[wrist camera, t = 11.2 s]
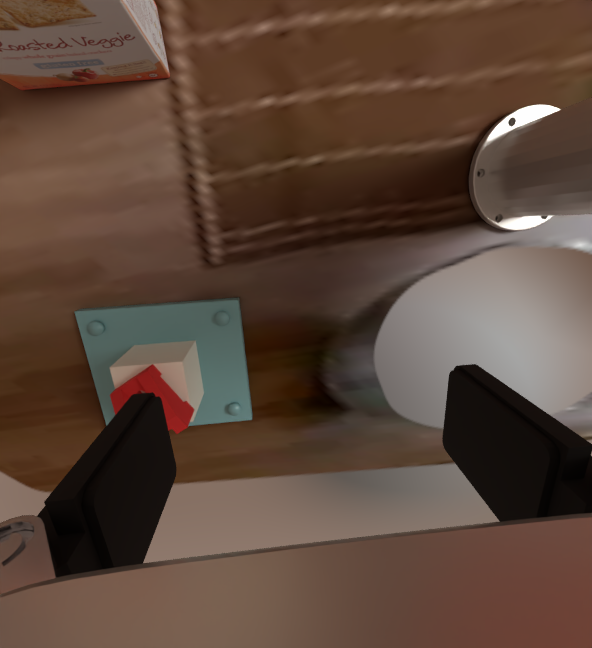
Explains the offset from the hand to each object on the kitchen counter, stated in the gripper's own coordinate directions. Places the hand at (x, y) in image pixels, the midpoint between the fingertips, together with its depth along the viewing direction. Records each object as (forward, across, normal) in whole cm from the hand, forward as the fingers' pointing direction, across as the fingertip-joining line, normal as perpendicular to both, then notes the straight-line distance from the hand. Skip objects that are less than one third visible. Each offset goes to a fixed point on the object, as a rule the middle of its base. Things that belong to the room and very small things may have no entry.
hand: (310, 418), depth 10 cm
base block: (+26, +14, +10) cm, 32 cm away
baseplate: (+28, +14, +10) cm, 33 cm away
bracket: (+21, +14, +10) cm, 27 cm away
